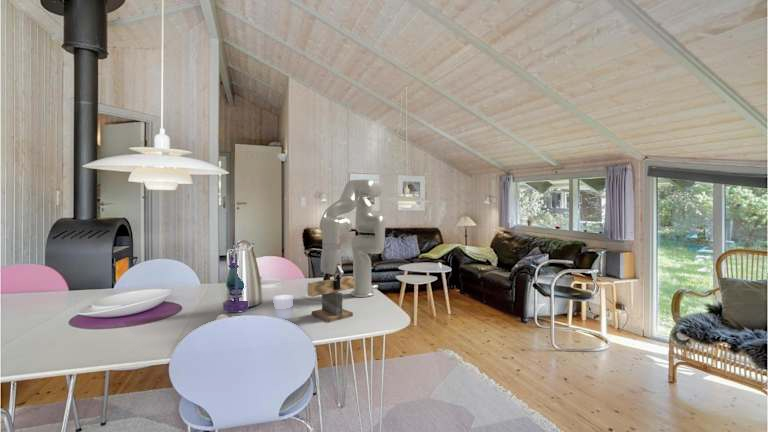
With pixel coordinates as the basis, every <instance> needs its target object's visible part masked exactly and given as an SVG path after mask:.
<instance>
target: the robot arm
mask: <svg viewBox="0 0 768 432" xmlns="http://www.w3.org/2000/svg"><path fill="white" fill-rule="evenodd" d="M382 192H383V187H382V184H381V182H380V181H378V180H373V179H350V180H348V182H347V183H346V184H345V187H344V189H343V190H342V193H341V195H340V197H339V199H338V200H337V201H335V202H334V203H332V204H330V205H329V206H327V208H325V210H324V212H323V214H322V216H321V218H320V221H319V230H320V232H322V235H321V236H322V243H321V244H322V250H321V254H320V268H319V269H320V272H321V274H322V278H323V280H322V281H324V280H330V279H331V277H330V275H332V277H333V279H334V280H335V281H333V289H334V290H338V289H340V280H341V277H343V275H344V272H345V271H344V270H343V269H342V268H343V266H342V263H343V262H342V255H341V235H347V234H349V233H350V232H351V230H352V228H353V227H352V221H351V220H350V219H349V218H348V217H339V216H341V215H345V214H348V213H350V212H352V211H354V210H355V222H354V224H355V225H354V226H355V230H356V231H357V232H358V233H367V235H366V234H358V235H354V237H352V239H351V243H350V244H351V250H352V252H351V253H352V264H353V265H352V267H353V268H352V269H353V271H352V275H353V276H352V277H354V288H353V290H352V291H350V296H352V297H356V298H368V297H373V296H374V295H375V291H374V290H376V289H378V288H379V285H377V284H375V285H374V284H372V260H371V258H370V256H369V255H370V254H372V255H373V254H374V255H375V254H376V255H377V254H378V255H379V254H382V253H383V252H384V250H385V239H386V238H385V237H386V236H385V235H386V219H385V218H384V217H383V215H381V214H373V204H372V203H371V201H370V200H369V199H368V198H380V196H381V195H382ZM368 233H369V235H368ZM370 234H371V235H370ZM372 234H374V235H372ZM368 254H369V255H368Z"/></svg>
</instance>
